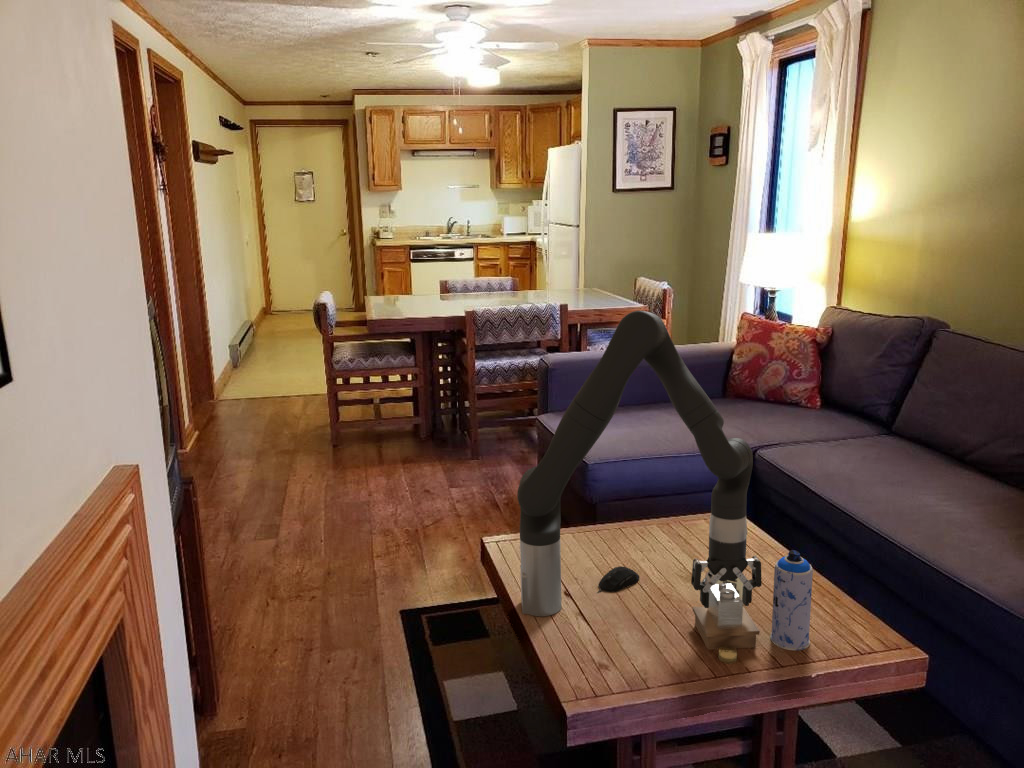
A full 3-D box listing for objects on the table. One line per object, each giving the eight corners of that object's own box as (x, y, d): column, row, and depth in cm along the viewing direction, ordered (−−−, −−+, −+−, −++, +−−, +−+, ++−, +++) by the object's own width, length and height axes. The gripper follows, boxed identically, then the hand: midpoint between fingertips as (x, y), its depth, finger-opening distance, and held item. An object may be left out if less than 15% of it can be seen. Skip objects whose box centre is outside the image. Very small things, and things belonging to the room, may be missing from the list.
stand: (706, 651, 161) (706, 633, 160) (692, 623, 171) (692, 607, 170) (758, 648, 161) (759, 630, 160) (741, 621, 172) (742, 604, 171)
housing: (707, 609, 169) (708, 580, 168) (730, 608, 169) (731, 579, 168) (718, 629, 161) (719, 598, 160) (742, 628, 161) (743, 597, 160)
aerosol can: (768, 629, 168) (772, 543, 164) (806, 632, 167) (811, 545, 162) (772, 648, 161) (776, 559, 156) (812, 652, 159) (817, 561, 155)
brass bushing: (721, 664, 156) (722, 655, 156) (716, 654, 159) (716, 645, 159) (739, 663, 156) (739, 654, 156) (733, 653, 160) (733, 644, 159)
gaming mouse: (584, 591, 188) (584, 576, 187) (625, 572, 197) (625, 557, 197) (603, 600, 183) (603, 585, 183) (644, 580, 193) (644, 565, 192)
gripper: (755, 525, 165) (752, 595, 169) (689, 528, 165) (687, 598, 168) (768, 539, 158) (764, 612, 161) (698, 543, 157) (697, 615, 161)
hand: (725, 605), depth 165 cm, fingers open, 8 cm apart
